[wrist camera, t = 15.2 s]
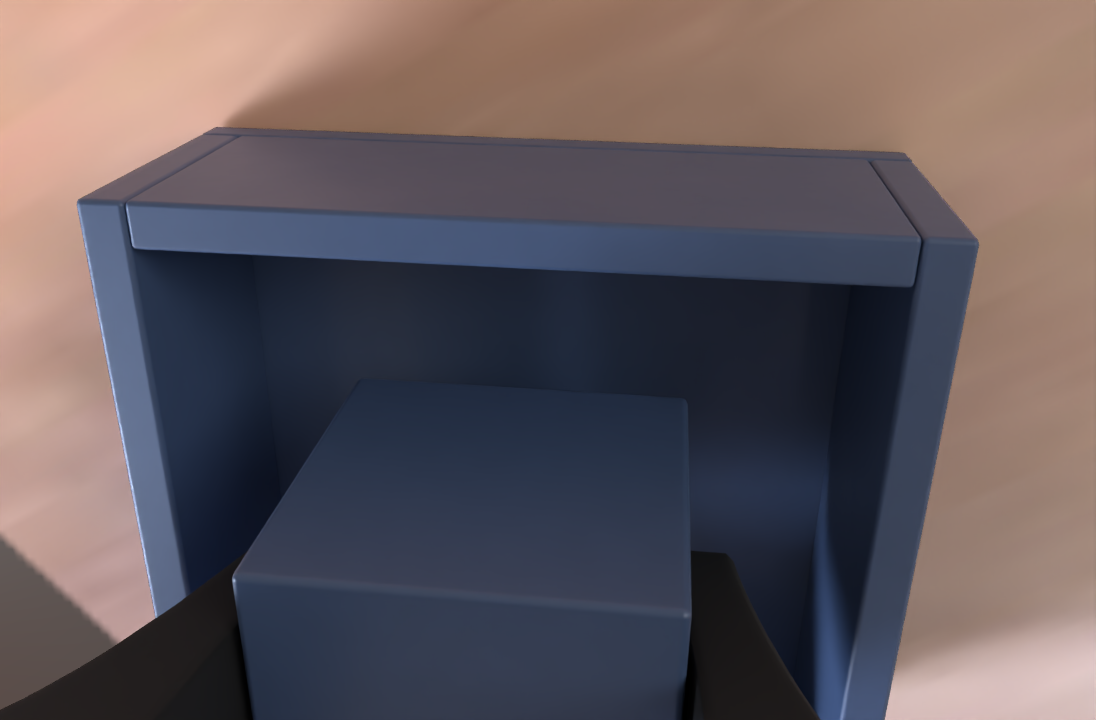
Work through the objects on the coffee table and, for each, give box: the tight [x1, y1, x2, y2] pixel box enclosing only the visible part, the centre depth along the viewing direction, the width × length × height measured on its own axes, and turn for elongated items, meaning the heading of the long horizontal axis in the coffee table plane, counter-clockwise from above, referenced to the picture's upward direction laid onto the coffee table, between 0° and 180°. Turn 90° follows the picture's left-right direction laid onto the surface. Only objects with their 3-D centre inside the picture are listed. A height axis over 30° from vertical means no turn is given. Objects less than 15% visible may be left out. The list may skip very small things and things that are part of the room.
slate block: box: [232, 378, 692, 720], centre depth 13 cm, size 4×4×4 cm
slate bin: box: [77, 127, 979, 720], centre depth 15 cm, size 10×10×4 cm
